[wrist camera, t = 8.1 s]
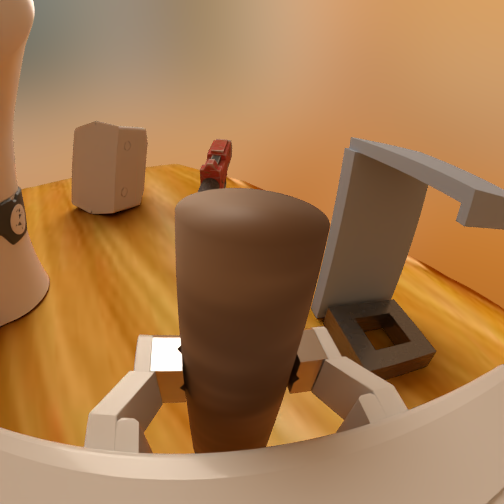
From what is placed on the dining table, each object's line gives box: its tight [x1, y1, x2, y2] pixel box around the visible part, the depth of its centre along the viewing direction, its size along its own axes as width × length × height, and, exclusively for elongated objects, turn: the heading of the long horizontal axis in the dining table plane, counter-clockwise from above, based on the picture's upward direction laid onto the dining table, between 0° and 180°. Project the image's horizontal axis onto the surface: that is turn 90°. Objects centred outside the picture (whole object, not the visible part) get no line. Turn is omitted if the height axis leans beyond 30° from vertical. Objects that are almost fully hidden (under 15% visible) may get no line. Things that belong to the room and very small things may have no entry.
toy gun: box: [198, 139, 232, 192], centre depth 58 cm, size 4×20×15 cm, turn 176°
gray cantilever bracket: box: [311, 137, 504, 318], centre depth 26 cm, size 11×16×21 cm
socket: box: [323, 299, 436, 380], centre depth 31 cm, size 10×10×2 cm
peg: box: [175, 188, 330, 454], centre depth 10 cm, size 4×4×12 cm
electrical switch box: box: [72, 121, 148, 214], centre depth 60 cm, size 15×15×20 cm
